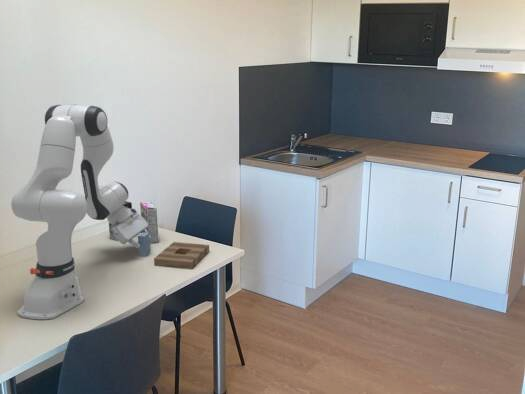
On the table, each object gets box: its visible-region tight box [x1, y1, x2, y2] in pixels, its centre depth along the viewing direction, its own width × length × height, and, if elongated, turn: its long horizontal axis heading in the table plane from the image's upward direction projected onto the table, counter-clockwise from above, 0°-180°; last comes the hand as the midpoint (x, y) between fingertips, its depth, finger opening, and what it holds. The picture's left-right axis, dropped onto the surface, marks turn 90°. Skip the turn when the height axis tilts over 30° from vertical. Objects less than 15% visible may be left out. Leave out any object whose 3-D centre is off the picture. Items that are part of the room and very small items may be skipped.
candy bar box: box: [139, 201, 159, 245], centre depth 251 cm, size 11×5×16 cm, turn 25°
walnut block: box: [153, 241, 210, 270], centre depth 230 cm, size 20×16×3 cm
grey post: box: [137, 233, 151, 258], centre depth 233 cm, size 4×3×9 cm, turn 166°
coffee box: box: [108, 200, 133, 242], centre depth 254 cm, size 9×6×16 cm
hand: (144, 243), depth 233 cm, fingers open, 8 cm apart
